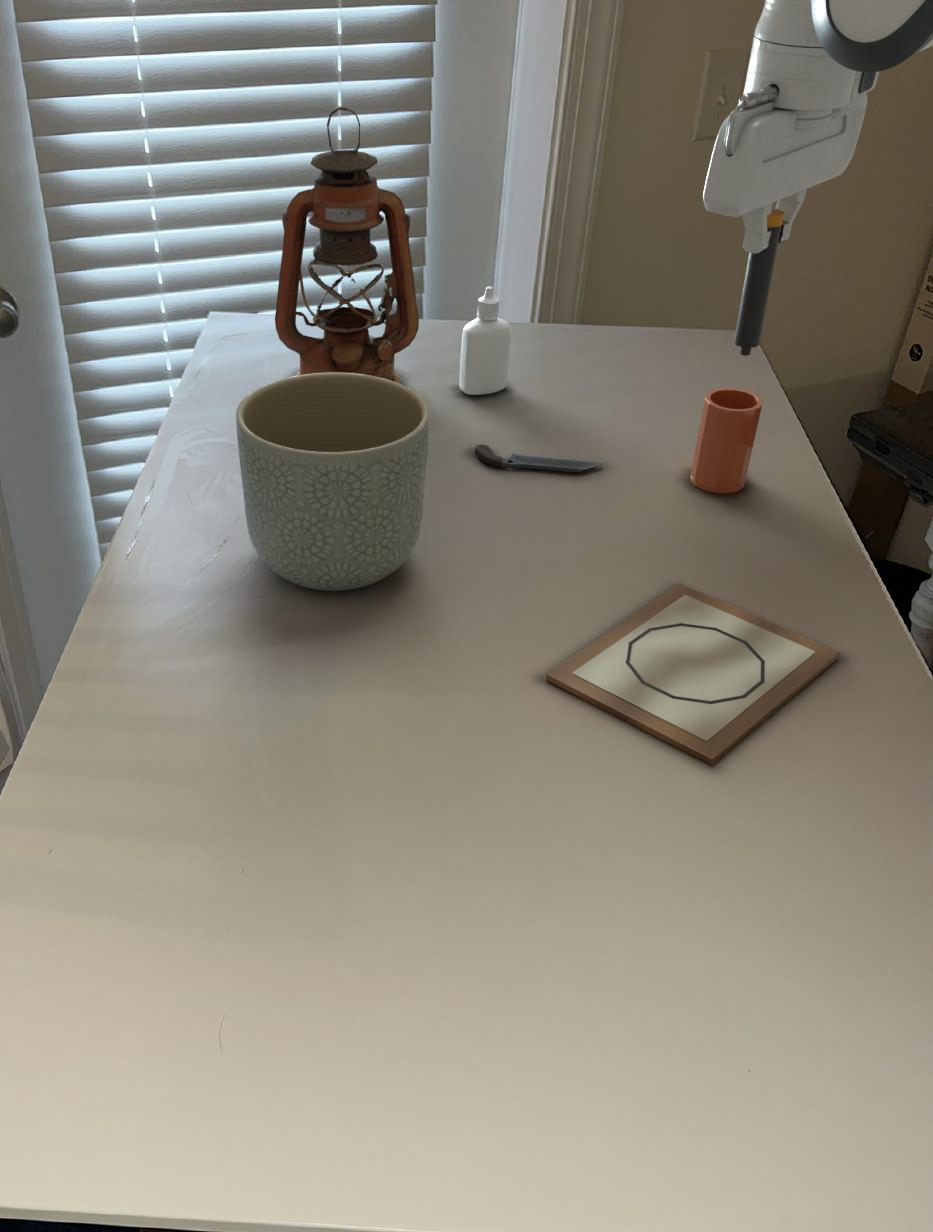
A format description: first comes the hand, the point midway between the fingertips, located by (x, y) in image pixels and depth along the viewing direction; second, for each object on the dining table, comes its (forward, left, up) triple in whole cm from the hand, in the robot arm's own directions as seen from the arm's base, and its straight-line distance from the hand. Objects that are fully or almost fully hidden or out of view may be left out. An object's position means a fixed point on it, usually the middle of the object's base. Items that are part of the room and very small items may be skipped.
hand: (765, 246), depth 115 cm
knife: (+16, +9, -24) cm, 31 cm away
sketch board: (-17, +30, -24) cm, 42 cm away
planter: (+17, +39, -24) cm, 49 cm away
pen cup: (0, -1, -24) cm, 24 cm away
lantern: (+46, +8, -24) cm, 53 cm away
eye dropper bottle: (+33, -2, -24) cm, 42 cm away
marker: (0, 0, -10) cm, 10 cm away
